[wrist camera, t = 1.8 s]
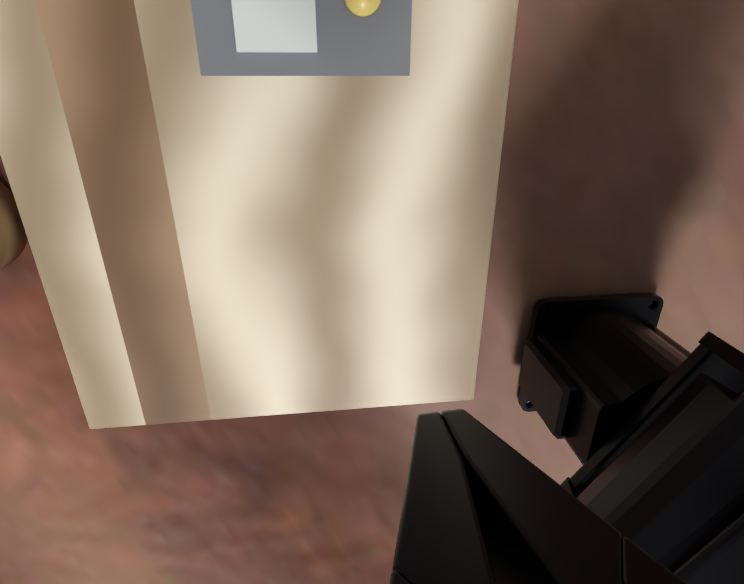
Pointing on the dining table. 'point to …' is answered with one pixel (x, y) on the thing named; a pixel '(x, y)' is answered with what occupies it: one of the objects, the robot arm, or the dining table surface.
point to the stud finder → (303, 37)
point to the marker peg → (10, 228)
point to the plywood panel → (254, 211)
